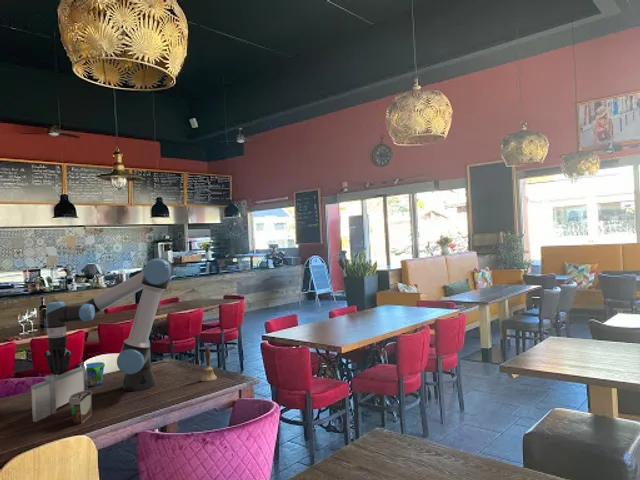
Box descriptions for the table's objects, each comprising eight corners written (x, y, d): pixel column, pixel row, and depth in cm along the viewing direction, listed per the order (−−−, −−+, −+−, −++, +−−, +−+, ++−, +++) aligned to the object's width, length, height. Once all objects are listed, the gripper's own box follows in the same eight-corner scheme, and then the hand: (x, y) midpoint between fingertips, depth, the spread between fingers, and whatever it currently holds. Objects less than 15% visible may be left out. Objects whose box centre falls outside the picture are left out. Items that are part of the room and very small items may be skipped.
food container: (77, 415, 196) (76, 390, 196) (92, 413, 196) (91, 389, 196) (63, 426, 183) (62, 400, 183) (80, 424, 184) (79, 399, 184)
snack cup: (108, 385, 237) (107, 365, 238) (85, 390, 231) (84, 369, 231) (102, 379, 250) (101, 360, 250) (80, 383, 244) (79, 364, 244)
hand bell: (220, 377, 241) (218, 346, 241) (208, 382, 234) (206, 350, 234) (208, 376, 245) (207, 345, 245) (196, 380, 238) (195, 348, 238)
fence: (89, 396, 221) (87, 361, 222) (37, 421, 190) (35, 381, 190) (84, 396, 222) (82, 361, 222) (31, 421, 190) (30, 381, 191)
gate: (84, 394, 219) (83, 367, 219) (56, 408, 201) (54, 378, 201) (80, 394, 219) (79, 367, 219) (52, 408, 201) (50, 378, 201)
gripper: (38, 338, 211) (40, 391, 211) (63, 337, 209) (66, 391, 209) (50, 335, 219) (53, 386, 219) (75, 334, 217) (78, 385, 216)
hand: (59, 388), depth 214 cm, fingers closed
